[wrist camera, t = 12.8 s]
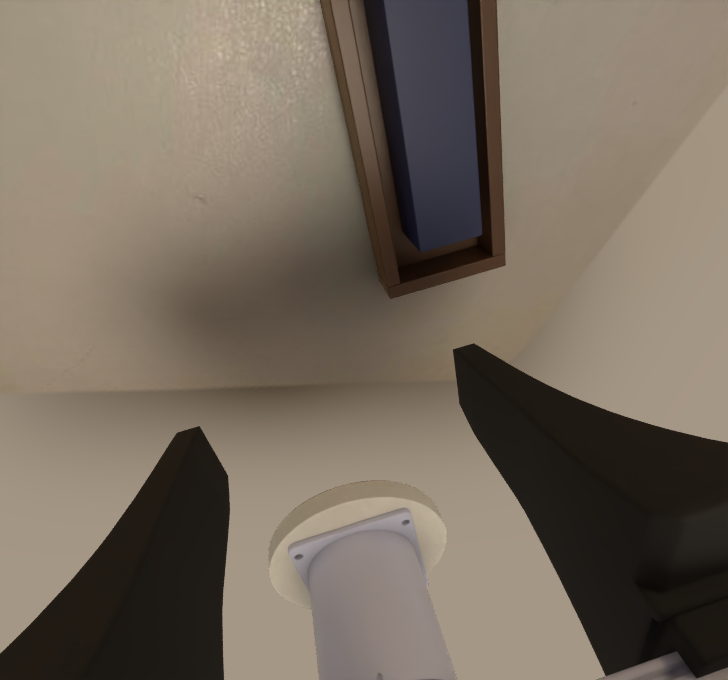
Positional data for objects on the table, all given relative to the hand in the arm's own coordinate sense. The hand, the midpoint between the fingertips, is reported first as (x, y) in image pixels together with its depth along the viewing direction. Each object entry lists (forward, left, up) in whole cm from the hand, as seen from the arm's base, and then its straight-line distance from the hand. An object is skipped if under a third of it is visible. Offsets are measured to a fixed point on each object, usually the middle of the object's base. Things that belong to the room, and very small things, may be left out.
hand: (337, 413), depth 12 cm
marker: (+7, -6, -9) cm, 13 cm away
